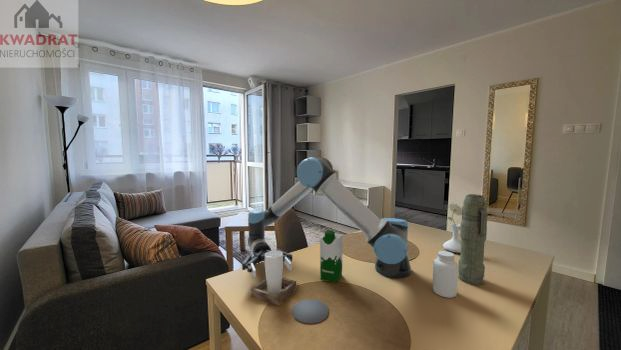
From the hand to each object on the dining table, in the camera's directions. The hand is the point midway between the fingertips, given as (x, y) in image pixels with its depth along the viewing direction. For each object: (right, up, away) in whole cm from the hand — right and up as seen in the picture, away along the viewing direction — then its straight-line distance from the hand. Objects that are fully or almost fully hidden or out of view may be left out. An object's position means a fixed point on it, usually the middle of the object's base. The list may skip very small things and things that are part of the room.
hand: (273, 270), depth 92 cm
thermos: (+79, -8, +10) cm, 80 cm away
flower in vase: (+90, -5, +41) cm, 99 cm away
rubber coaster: (+14, -10, -10) cm, 19 cm away
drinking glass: (0, -9, +1) cm, 9 cm away
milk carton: (+23, -8, +12) cm, 27 cm away
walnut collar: (0, -9, +1) cm, 9 cm away
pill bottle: (+64, -9, +1) cm, 64 cm away
